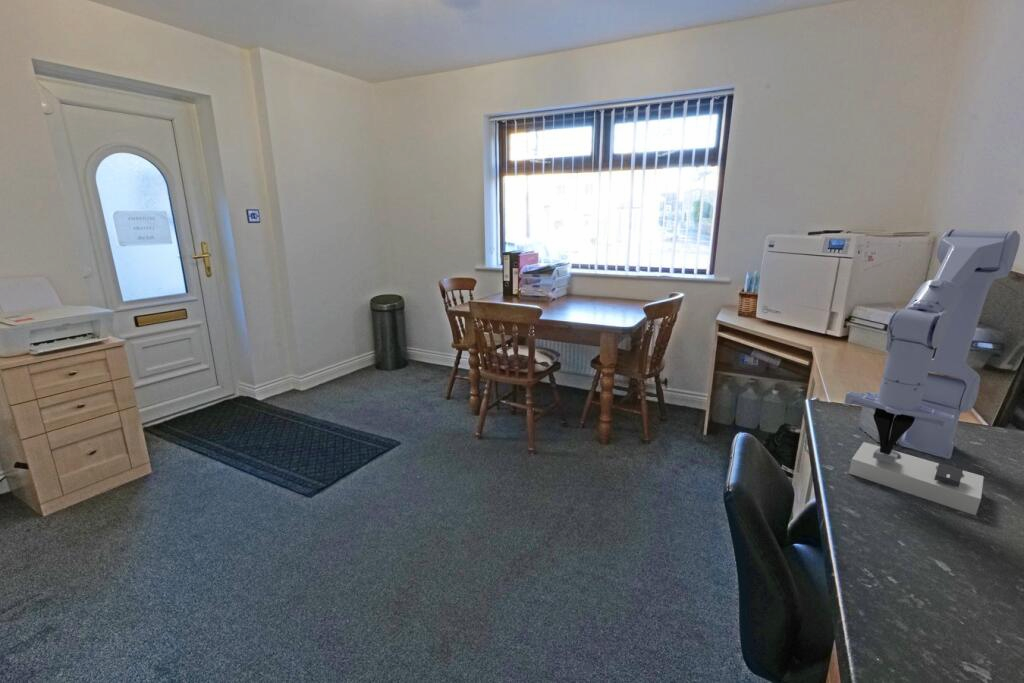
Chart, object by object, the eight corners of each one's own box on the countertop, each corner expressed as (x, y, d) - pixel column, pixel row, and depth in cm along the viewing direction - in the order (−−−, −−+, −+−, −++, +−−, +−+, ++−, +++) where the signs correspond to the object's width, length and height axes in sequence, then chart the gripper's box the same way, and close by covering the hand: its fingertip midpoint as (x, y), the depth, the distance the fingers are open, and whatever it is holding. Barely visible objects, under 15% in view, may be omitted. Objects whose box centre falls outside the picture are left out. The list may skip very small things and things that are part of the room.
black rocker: (937, 467, 80) (939, 462, 80) (961, 474, 78) (963, 469, 78) (934, 479, 78) (935, 474, 78) (958, 487, 76) (960, 481, 75)
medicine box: (899, 445, 97) (909, 406, 95) (875, 442, 98) (884, 404, 96) (878, 429, 105) (887, 393, 103) (856, 427, 106) (865, 391, 104)
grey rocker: (876, 453, 86) (877, 448, 86) (896, 459, 84) (898, 454, 84) (872, 457, 84) (874, 451, 83) (893, 463, 81) (895, 458, 81)
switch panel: (860, 455, 93) (863, 441, 92) (978, 491, 81) (984, 475, 80) (848, 473, 86) (852, 457, 85) (975, 515, 74) (981, 497, 73)
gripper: (847, 374, 81) (832, 444, 85) (959, 397, 71) (937, 476, 75) (856, 366, 86) (841, 433, 90) (962, 386, 76) (941, 461, 80)
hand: (885, 451), depth 83 cm, fingers closed
